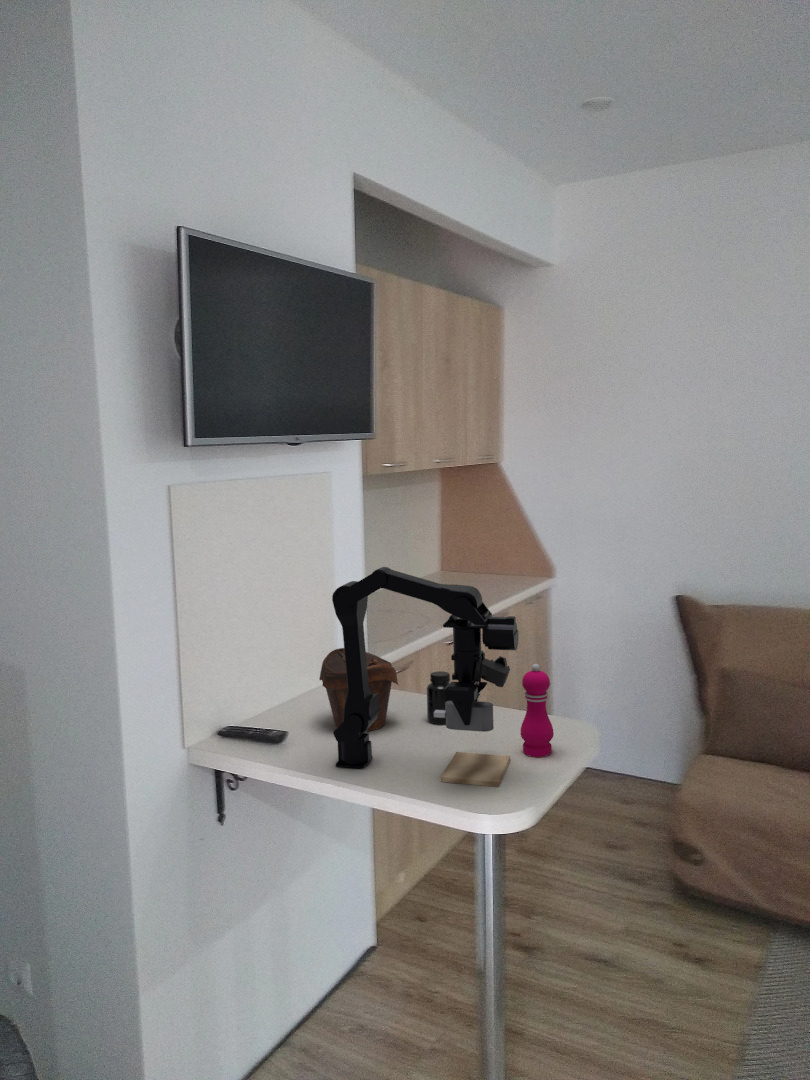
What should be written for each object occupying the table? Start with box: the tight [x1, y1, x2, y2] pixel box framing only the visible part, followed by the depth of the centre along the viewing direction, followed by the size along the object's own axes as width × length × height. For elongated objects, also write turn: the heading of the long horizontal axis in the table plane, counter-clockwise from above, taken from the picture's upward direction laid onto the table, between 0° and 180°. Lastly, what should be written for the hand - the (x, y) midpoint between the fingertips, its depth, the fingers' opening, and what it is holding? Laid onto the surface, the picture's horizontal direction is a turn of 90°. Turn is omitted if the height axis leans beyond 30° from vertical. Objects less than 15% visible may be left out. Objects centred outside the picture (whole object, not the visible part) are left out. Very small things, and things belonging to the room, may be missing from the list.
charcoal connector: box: [434, 700, 495, 733], centre depth 170 cm, size 12×4×5 cm, turn 73°
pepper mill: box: [520, 663, 554, 758], centre depth 180 cm, size 7×7×20 cm
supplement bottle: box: [426, 670, 451, 725], centre depth 203 cm, size 7×7×12 cm
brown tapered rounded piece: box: [318, 647, 399, 732], centre depth 202 cm, size 18×20×18 cm
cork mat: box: [440, 751, 511, 788], centre depth 172 cm, size 12×14×1 cm
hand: (469, 721), depth 170 cm, fingers closed on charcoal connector, 4 cm apart
